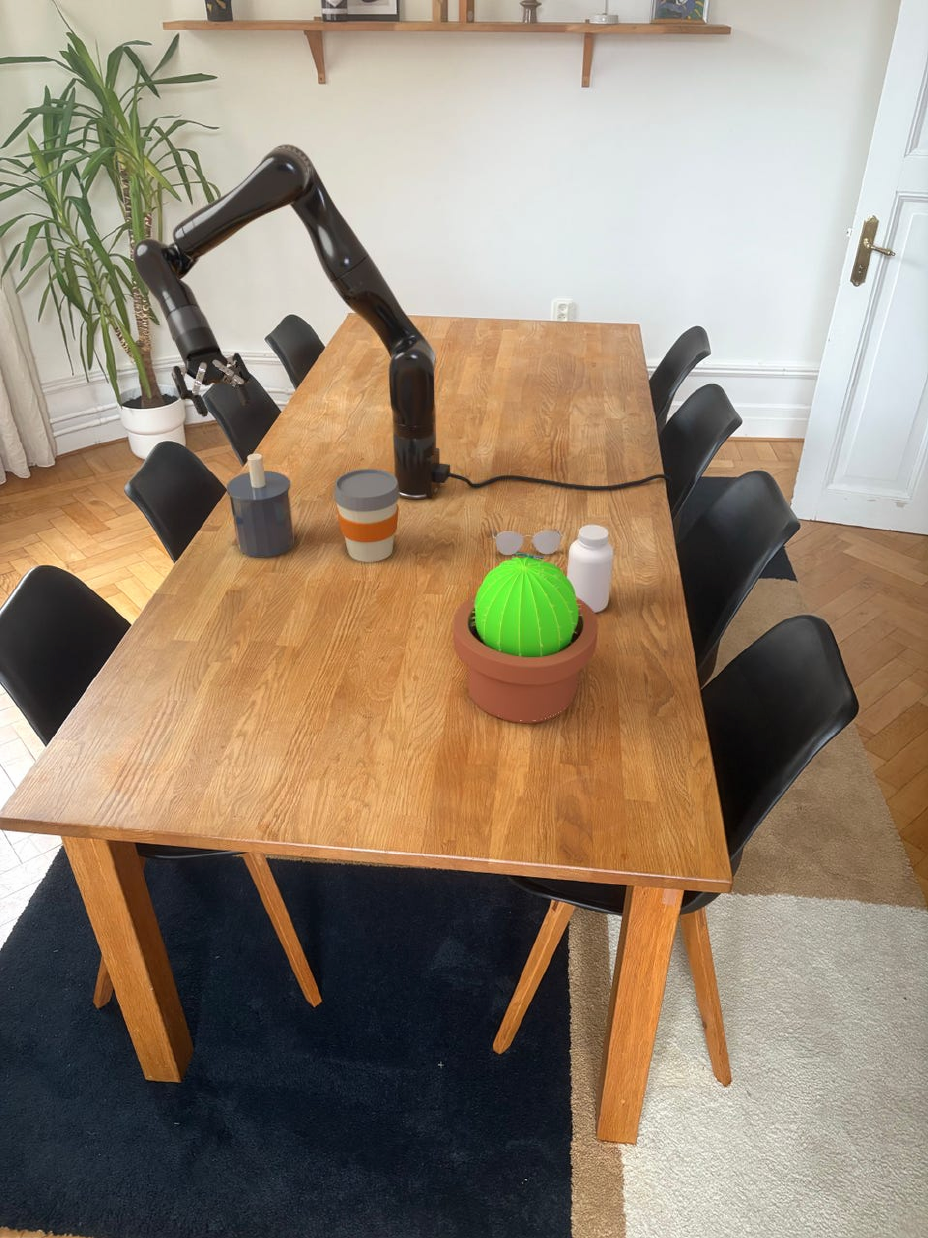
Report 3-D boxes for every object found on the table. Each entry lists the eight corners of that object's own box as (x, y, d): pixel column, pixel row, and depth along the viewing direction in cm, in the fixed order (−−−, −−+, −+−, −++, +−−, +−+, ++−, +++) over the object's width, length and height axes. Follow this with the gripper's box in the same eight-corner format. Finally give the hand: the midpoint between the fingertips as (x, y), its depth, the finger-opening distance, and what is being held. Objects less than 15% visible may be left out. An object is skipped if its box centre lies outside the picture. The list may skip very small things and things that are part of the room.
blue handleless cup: (303, 534, 195) (297, 479, 187) (278, 561, 186) (271, 504, 179) (254, 525, 197) (246, 471, 190) (228, 552, 189) (218, 496, 181)
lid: (301, 481, 188) (297, 447, 184) (273, 509, 178) (268, 474, 174) (246, 472, 191) (241, 439, 187) (215, 499, 181) (210, 465, 177)
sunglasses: (493, 555, 188) (493, 531, 186) (489, 540, 196) (490, 517, 193) (562, 554, 189) (563, 530, 187) (556, 538, 196) (557, 515, 194)
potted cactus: (550, 753, 142) (561, 617, 127) (428, 702, 151) (425, 570, 137) (612, 676, 157) (628, 546, 143) (497, 634, 166) (502, 508, 152)
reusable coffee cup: (412, 542, 192) (410, 475, 183) (382, 572, 183) (378, 503, 174) (358, 529, 196) (354, 463, 188) (326, 558, 187) (320, 490, 178)
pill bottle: (612, 595, 177) (620, 524, 168) (603, 618, 171) (611, 546, 162) (570, 587, 179) (576, 517, 170) (560, 610, 173) (565, 538, 164)
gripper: (160, 332, 178) (195, 409, 177) (230, 318, 185) (264, 392, 184) (155, 352, 185) (188, 426, 184) (222, 338, 192) (255, 409, 191)
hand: (226, 409), depth 184 cm, fingers open, 8 cm apart
